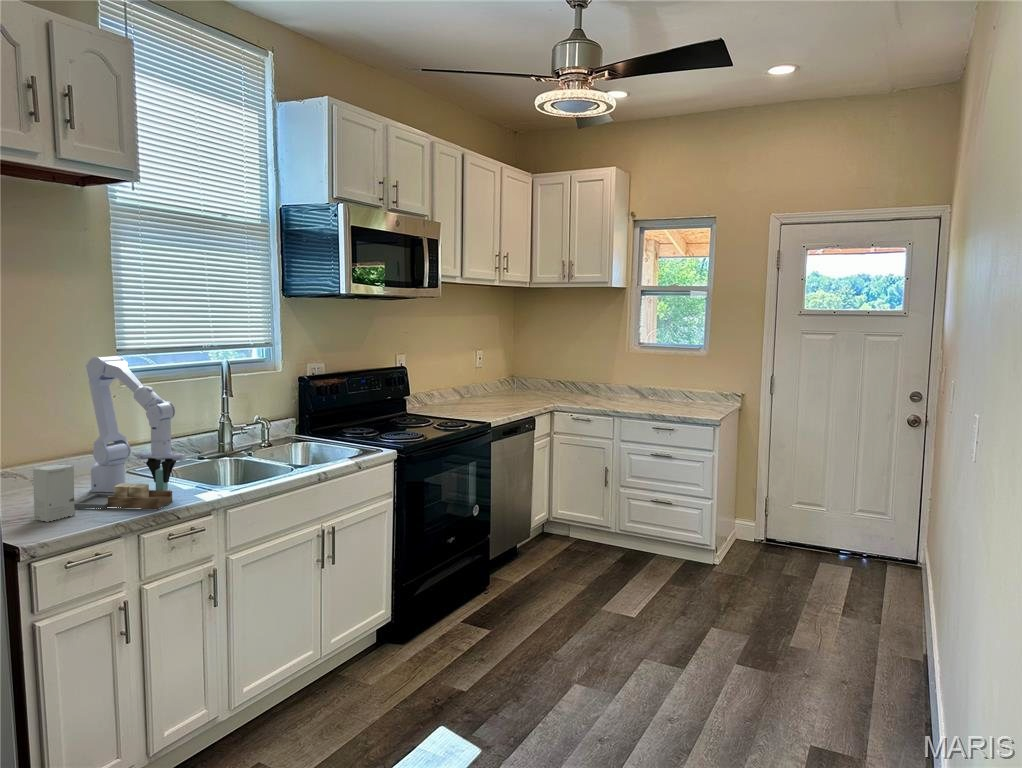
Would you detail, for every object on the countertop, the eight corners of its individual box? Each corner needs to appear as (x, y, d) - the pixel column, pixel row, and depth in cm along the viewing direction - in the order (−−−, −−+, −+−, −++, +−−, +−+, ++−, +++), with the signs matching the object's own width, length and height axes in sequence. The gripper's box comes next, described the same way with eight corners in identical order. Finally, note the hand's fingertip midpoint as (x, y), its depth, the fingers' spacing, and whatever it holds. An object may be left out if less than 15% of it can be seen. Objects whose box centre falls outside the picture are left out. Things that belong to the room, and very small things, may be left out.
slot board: (107, 508, 207) (107, 496, 207) (124, 500, 216) (124, 489, 216) (157, 509, 207) (157, 498, 207) (172, 501, 216) (172, 490, 216)
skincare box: (47, 523, 192) (45, 470, 190) (32, 519, 194) (31, 468, 192) (76, 515, 199) (74, 464, 198) (61, 512, 202) (60, 462, 200)
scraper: (153, 498, 219) (152, 470, 218) (161, 494, 224) (160, 467, 223) (162, 498, 219) (162, 471, 218) (170, 494, 224) (170, 467, 223)
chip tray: (73, 508, 205) (72, 503, 205) (96, 497, 217) (96, 493, 217) (104, 509, 206) (104, 504, 205) (127, 498, 218) (126, 494, 217)
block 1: (114, 499, 209) (113, 486, 209) (121, 496, 213) (121, 483, 213) (127, 500, 209) (127, 487, 209) (134, 496, 213) (134, 483, 213)
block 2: (128, 500, 209) (128, 487, 209) (136, 496, 213) (135, 483, 213) (142, 500, 209) (141, 487, 209) (148, 497, 213) (148, 484, 213)
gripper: (131, 441, 216) (132, 484, 217) (177, 443, 216) (178, 485, 217) (143, 437, 223) (144, 478, 224) (188, 439, 223) (188, 480, 224)
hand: (161, 481), depth 221 cm, fingers closed on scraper, 2 cm apart
